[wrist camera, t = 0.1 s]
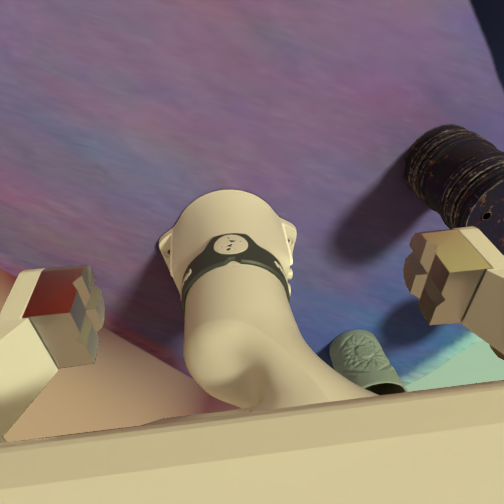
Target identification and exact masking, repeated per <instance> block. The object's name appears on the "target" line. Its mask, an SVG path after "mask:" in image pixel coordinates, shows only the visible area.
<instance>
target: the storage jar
mask: <svg viewBox="0 0 504 504" xmlns="http://www.w3.org/2000/svg"><path fill="white" fill-rule="evenodd" d="M403 176H404V180H405V182H406V184H407V185H408V187H409V188H410V189H411V190H412V191H414V193H415V194H416V196H417V197H418V198H419V199H420V200H421V201H422V202H424V203H425V204H426V205H427V206H428V207H430V208H431V209H432V210H434V211H437V212H438V213H439V214H440V216H441V218H442V220H443V221H444V223H445V224H446V225H447V227H449V228H450V229H454V228H462V227H470V226H473V227H476V228H478V229H479V230H480V231H481V232H482V233H483V234H484V235H485V236H486V237H487V238H488V240H489V241H490V242H491V243H492V244H493V245H494V246H495V247H496V248H497V249H498V250H499V251H500V252H501V254H502V255H504V152H502V151H500V150H498V149H497V148H496V147H495V146H494V145H493V144H492V143H490V142H488V141H487V140H486V139H485V138H483V137H481V136H480V135H478V134H476V133H474V132H471V131H468V130H467V129H465V128H463V127H461V126H458V125H442V126H439V127H436V128H433V129H431V130H429V131H428V132H426V133H424V134H423V135H422V136H421V137H419V138H418V139H417V140H416V141H415V143H414V144H413V145H412V146H411V148H410V149H409V151H408V153H407V155H406V157H405V160H404V164H403Z"/></svg>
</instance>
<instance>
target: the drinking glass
mask: <svg viewBox="0 0 504 504" xmlns="http://www.w3.org/2000/svg"><path fill="white" fill-rule="evenodd" d="M329 353H330V357H331V361H332V364H333V367H334V370H335V371H336V372H338V373H339V374H340V375H342V376H343V377H345V378H347V379H348V380H350V381H351V382H353V383H355V384H357V385H359V386H360V387H362V388H364V389H366V390H368V391H371V392H373V393H375V394H378V395H388V394H396V393H404V392H408V391H407V389H406V387H405V386H404V384H403V382H402V381H401V379H400V378H399V376H398V375H397V373H396V371H395V369H394V368H393V367H392V366H391V365H390V363H389V360H388V359H387V357H386V356H385V354H384V353H383V350H382V347H381V346H380V344H379V342H378V341H377V339H376V337H375V336H374V335H373V334H372V333H371V332H369V331H366V330H362V329H355V330H350V331H347V332H344V333H342V334H340V335H339V336H337V337H336V338H335V339H334V340H333V342H332V343H331V345H330V349H329Z"/></svg>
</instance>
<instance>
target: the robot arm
mask: <svg viewBox="0 0 504 504" xmlns="http://www.w3.org/2000/svg"><path fill="white" fill-rule="evenodd" d="M296 236H297V231H296V228H295V226H294V225H293V224H291V223H290V222H288V221H286V220H284V219H282V218H280V217H279V216H278V215H277V214H276V213H275V212H274V211H273V210H272V208H271V207H270V206H269V205H268V204H267V203H266V202H265V201H263V200H262V199H260V198H259V197H257V196H255V195H253V194H250V193H247V192H244V191H239V190H220V191H215V192H212V193H209V194H206V195H204V196H202V197H200V198H198V199H196V200H195V201H194V202H192V203H191V204H190V205H189V206H188V207H187V208H186V209H185V210H184V211H183V213H182V214H181V216H180V218H179V219H178V221H177V223H176V225H175V226H174V227H173V228H172V229H170V230H169V231H168V232H166V233H165V234H164V235H163V236H162V237H161V238H160V239H159V249H160V251H161V253H162V255H163V258H164V260H165V262H166V264H167V266H168V269H169V271H170V274H171V277H173V279H174V282H175V284H176V286H177V288H178V290H179V293H180V298H181V302H182V311H183V314H184V317H185V325H184V360H185V364H186V367H187V369H188V371H189V373H190V374H191V376H192V378H193V379H194V380H195V381H196V382H197V383H198V384H199V385H200V386H201V387H202V388H203V389H204V390H205V391H206V392H207V393H208V394H210V395H211V396H213V397H215V398H217V399H219V400H221V401H224V402H226V403H229V404H232V405H234V406H237V407H239V408H242V409H235V410H228V411H220V412H211V413H203V414H195V415H188V416H179V417H172V418H163V419H160V420H157V421H154V422H151V423H147V424H144V425H141V426H134V427H125V428H118V429H110V430H101V431H93V432H85V433H78V434H69V435H61V436H54V437H46V438H38V439H30V440H22V441H14V442H7V441H6V440H5V439H4V438H3V436H4V435H5V434H6V433H7V431H8V430H9V429H10V428H11V427H12V425H13V424H14V423H15V422H16V421H17V419H18V418H19V417H20V416H21V415H22V414H23V412H24V411H25V410H26V409H27V408H28V406H29V405H30V404H31V403H32V402H33V400H34V399H35V398H36V397H37V396H38V394H39V393H40V392H41V391H42V389H43V388H44V387H45V386H46V385H47V384H48V382H49V381H50V380H51V379H52V378H53V377H54V375H55V374H56V373H57V372H58V369H59V368H66V367H73V366H80V365H87V364H94V363H95V359H96V355H97V351H98V346H99V342H100V341H99V338H98V336H97V334H96V333H97V332H98V331H99V330H100V329H101V328H102V327H103V323H104V318H105V305H104V300H103V296H102V293H101V291H100V289H98V288H97V287H95V286H94V285H93V283H94V279H95V275H94V273H93V271H92V268H91V267H90V266H88V265H79V266H66V267H52V268H45V269H31V270H24V271H22V272H21V273H20V274H19V275H18V277H17V279H16V281H15V283H14V285H13V287H12V290H11V292H10V294H9V295H8V298H7V300H6V302H5V304H4V306H3V308H2V310H1V312H0V504H504V380H500V381H492V382H483V383H475V384H468V385H460V386H452V387H444V388H436V389H429V390H421V391H412V392H404V393H396V394H388V395H378V394H375V393H373V392H371V391H368V390H366V389H364V388H362V387H360V386H359V385H357V384H355V383H353V382H351V381H350V380H348V379H347V378H345V377H343V376H342V375H340V374H339V373H338V372H336V371H335V370H334V369H332V368H331V367H330V366H329V365H327V364H326V363H325V362H324V361H323V360H322V359H320V358H319V357H318V356H317V355H316V354H315V353H314V352H313V351H312V350H311V348H310V347H309V346H308V345H307V343H306V342H305V341H304V339H303V338H302V336H301V334H300V331H299V329H298V327H297V324H296V322H295V319H294V317H293V314H292V311H291V308H290V305H289V301H290V293H291V288H290V284H289V283H288V280H287V279H292V275H293V273H292V269H290V265H292V264H293V259H292V252H293V248H294V244H295V240H296ZM288 239H289V240H288ZM409 246H410V247H411V249H412V250H413V252H412V253H411V254H410V255H409V256H408V257H407V258H406V259H405V263H404V268H403V271H404V280H405V283H406V286H407V288H408V290H409V292H410V293H411V294H413V295H414V296H416V297H418V298H419V299H420V300H419V303H418V307H419V309H420V310H421V312H422V314H423V315H424V317H425V319H426V321H427V322H428V324H429V325H438V324H449V323H461V322H462V325H464V326H465V327H466V328H468V329H469V330H471V331H472V332H473V333H475V334H476V335H477V336H479V337H480V338H481V339H483V340H484V341H486V342H487V343H488V344H490V345H491V346H492V347H494V348H495V349H496V350H498V351H499V352H501V353H502V354H503V355H504V256H503V255H502V254H501V252H500V251H499V250H498V249H497V248H496V247H495V246H494V245H493V244H492V243H491V242H490V241H489V240H488V238H487V237H486V236H485V235H484V234H483V233H482V232H481V231H480V230H479V229H478V228H476V227H473V226H470V227H462V228H454V229H449V230H439V231H429V232H420V233H415V234H414V235H413V237H412V238H411V242H410V245H409ZM168 250H170V252H169V251H168Z"/></svg>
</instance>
